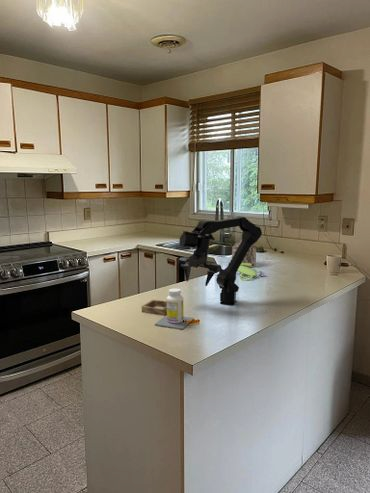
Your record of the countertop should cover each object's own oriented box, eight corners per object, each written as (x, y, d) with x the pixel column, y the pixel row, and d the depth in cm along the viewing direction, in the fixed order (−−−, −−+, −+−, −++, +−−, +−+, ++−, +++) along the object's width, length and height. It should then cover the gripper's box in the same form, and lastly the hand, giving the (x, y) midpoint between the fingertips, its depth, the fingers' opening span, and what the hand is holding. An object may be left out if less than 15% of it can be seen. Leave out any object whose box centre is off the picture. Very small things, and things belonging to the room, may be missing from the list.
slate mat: (194, 319, 154) (194, 318, 154) (182, 329, 143) (182, 328, 143) (167, 315, 158) (167, 314, 158) (154, 325, 147) (154, 324, 147)
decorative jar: (231, 265, 252) (231, 239, 249) (245, 264, 257) (246, 238, 254) (241, 269, 242) (241, 241, 238) (256, 267, 246) (257, 240, 243)
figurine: (246, 269, 244) (246, 260, 243) (270, 278, 219) (271, 269, 218) (221, 271, 237) (221, 263, 236) (243, 282, 212) (243, 272, 211)
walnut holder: (174, 307, 168) (174, 302, 168) (163, 315, 159) (163, 309, 158) (153, 304, 172) (152, 299, 172) (141, 312, 163) (141, 306, 162)
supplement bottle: (178, 316, 155) (178, 286, 153) (186, 321, 149) (186, 290, 147) (163, 319, 152) (163, 289, 149) (171, 325, 146) (171, 293, 144)
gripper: (175, 245, 161) (169, 280, 162) (215, 253, 153) (209, 290, 154) (186, 245, 171) (180, 278, 172) (224, 252, 163) (218, 287, 165)
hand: (196, 283), depth 166 cm, fingers open, 9 cm apart
